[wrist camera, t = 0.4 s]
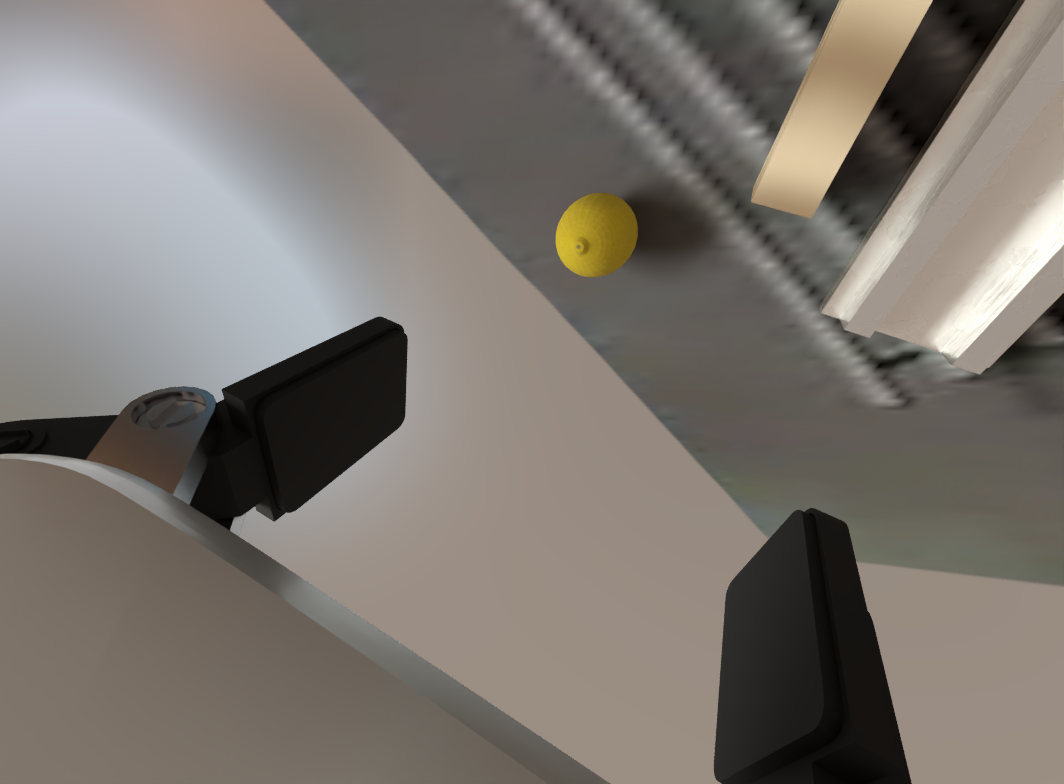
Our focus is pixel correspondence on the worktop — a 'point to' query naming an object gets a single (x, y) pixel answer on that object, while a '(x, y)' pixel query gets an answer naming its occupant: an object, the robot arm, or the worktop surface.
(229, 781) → the robot arm
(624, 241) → the lemon
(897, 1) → the tan wooden block
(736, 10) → the worktop surface
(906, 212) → the bottom track
